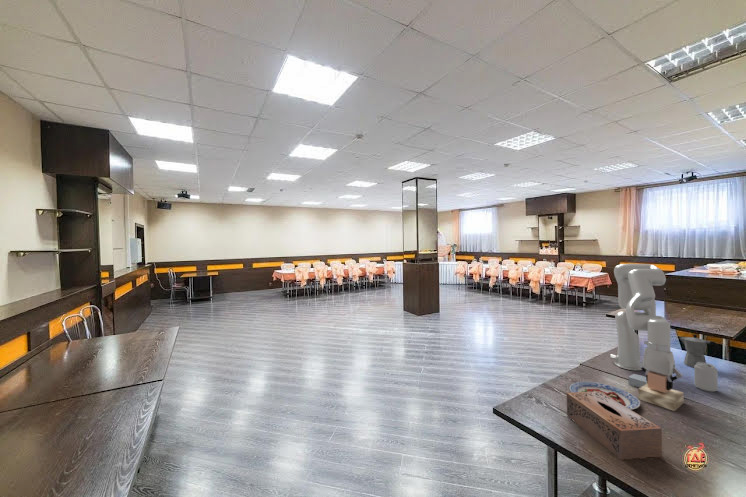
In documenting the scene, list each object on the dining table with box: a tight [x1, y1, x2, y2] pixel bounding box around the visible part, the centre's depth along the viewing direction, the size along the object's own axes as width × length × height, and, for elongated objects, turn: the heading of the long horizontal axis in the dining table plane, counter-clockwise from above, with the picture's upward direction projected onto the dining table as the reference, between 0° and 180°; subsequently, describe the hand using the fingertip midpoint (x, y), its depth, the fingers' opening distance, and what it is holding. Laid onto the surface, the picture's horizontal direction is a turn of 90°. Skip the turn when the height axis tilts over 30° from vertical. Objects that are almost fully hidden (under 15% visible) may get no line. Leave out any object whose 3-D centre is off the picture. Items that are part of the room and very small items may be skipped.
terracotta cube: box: [648, 371, 671, 393], centre depth 137 cm, size 6×6×7 cm
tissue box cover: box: [566, 391, 663, 461], centre depth 113 cm, size 26×14×10 cm, turn 3°
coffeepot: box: [678, 334, 719, 368], centre depth 171 cm, size 15×9×18 cm, turn 37°
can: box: [694, 362, 719, 393], centre depth 146 cm, size 8×8×12 cm
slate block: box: [628, 373, 647, 389], centre depth 151 cm, size 7×7×4 cm
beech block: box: [637, 384, 685, 412], centre depth 136 cm, size 12×12×5 cm
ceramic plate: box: [569, 381, 641, 411], centre depth 139 cm, size 26×26×3 cm
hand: (659, 385), depth 137 cm, fingers closed on terracotta cube, 6 cm apart
